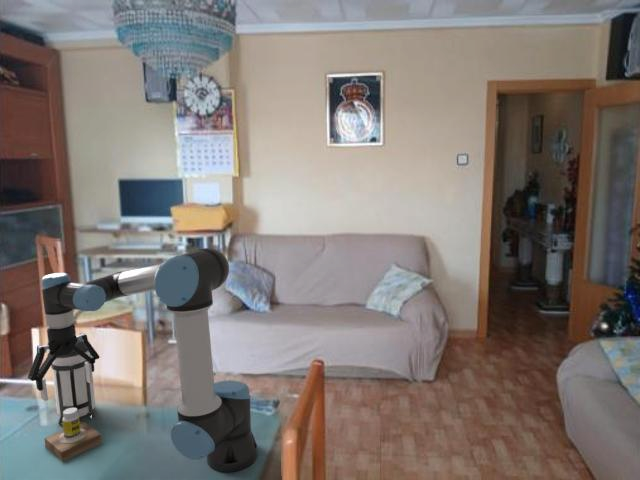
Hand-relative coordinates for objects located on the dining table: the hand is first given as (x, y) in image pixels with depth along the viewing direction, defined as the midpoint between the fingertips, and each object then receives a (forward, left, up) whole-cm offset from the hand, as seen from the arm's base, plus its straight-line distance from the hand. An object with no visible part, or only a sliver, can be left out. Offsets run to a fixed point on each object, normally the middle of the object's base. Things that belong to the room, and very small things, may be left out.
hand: (68, 390), depth 151 cm
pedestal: (0, 0, -18) cm, 18 cm away
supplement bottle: (0, 0, -15) cm, 15 cm away
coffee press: (+16, -9, -19) cm, 26 cm away
